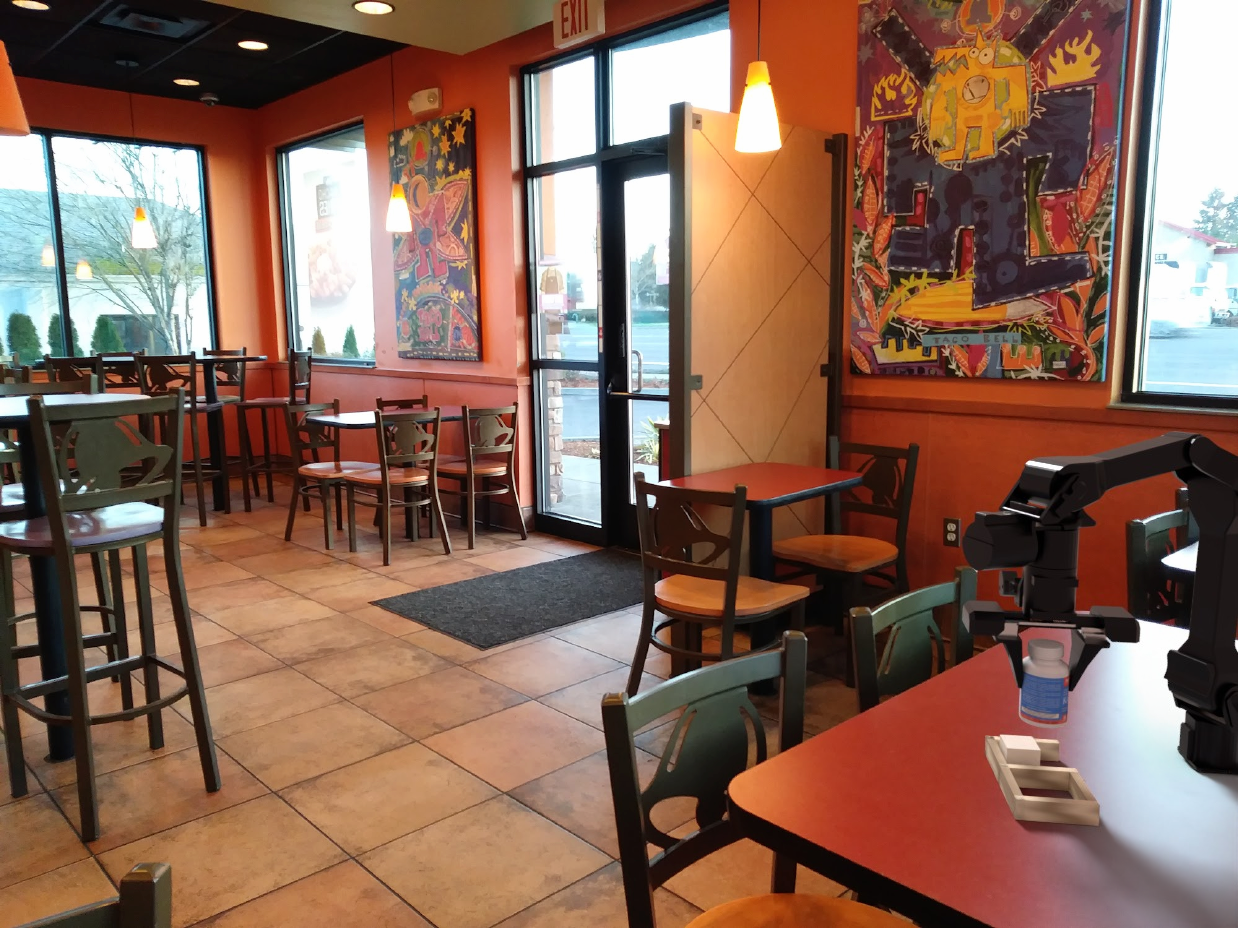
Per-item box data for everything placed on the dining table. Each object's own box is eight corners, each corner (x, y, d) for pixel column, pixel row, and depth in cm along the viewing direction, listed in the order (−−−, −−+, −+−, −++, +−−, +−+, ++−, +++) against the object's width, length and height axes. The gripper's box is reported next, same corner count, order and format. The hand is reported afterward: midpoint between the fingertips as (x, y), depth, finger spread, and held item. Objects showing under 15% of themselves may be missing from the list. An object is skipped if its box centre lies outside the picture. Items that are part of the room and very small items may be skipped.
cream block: (1031, 765, 117) (1032, 736, 117) (1039, 779, 113) (1040, 750, 113) (998, 763, 118) (999, 734, 118) (1005, 777, 114) (1007, 747, 114)
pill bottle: (1072, 731, 106) (1076, 652, 105) (1023, 727, 107) (1027, 649, 106) (1060, 712, 112) (1064, 637, 110) (1014, 709, 113) (1017, 635, 111)
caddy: (1056, 757, 119) (1057, 739, 119) (1098, 825, 102) (1099, 805, 102) (984, 753, 121) (985, 735, 120) (1015, 819, 104) (1015, 799, 104)
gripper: (1114, 551, 113) (1106, 669, 115) (957, 546, 117) (953, 660, 119) (1145, 573, 102) (1137, 704, 104) (972, 567, 106) (967, 693, 108)
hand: (1044, 688), depth 109 cm, fingers closed on pill bottle, 5 cm apart
